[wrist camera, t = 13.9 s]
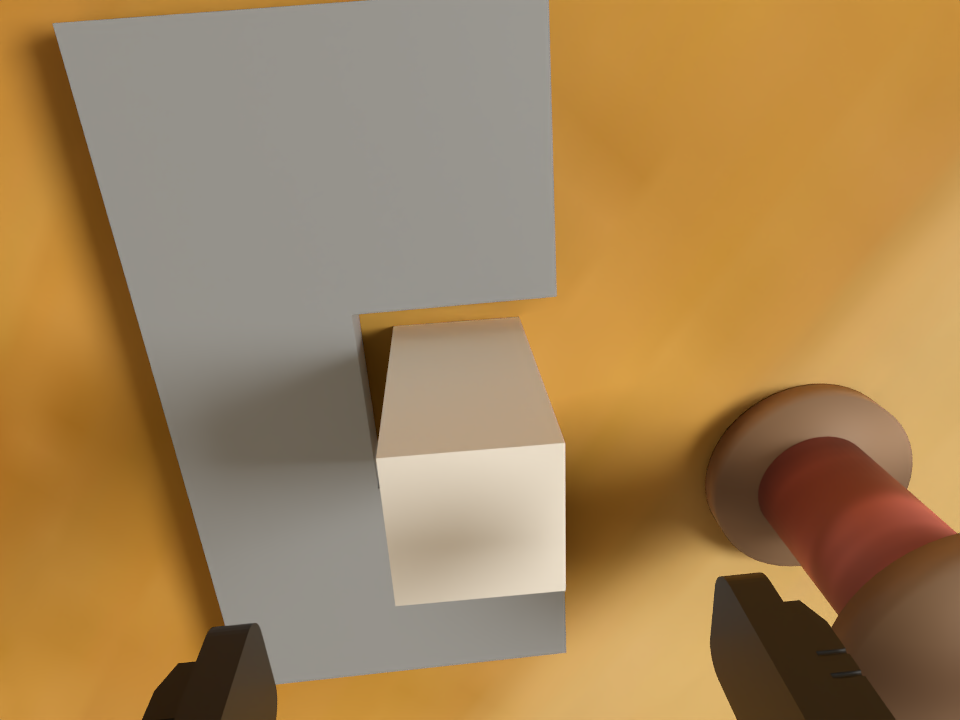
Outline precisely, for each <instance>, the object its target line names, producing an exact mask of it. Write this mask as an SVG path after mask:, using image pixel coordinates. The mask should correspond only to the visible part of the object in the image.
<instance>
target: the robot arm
mask: <svg viewBox="0 0 960 720" xmlns="http://www.w3.org/2000/svg"><path fill="white" fill-rule="evenodd" d="M710 649H711V656H712V661H713V665H714V669H715V672H716V675H717V677H718V680H719V682H720V684H721V686H722V688H723V690H724V693H725V695H726V697H727V699H728V701H729V703H730V706H731V708H732V710H733V712H734V714H735V716H736V719H737V720H896V719H895V718H894V716H893V715H892V713H891V712H890V710H889V709H888V708H887V706H886V705H885V703H884V702H883V701H882V699H881V698H880V696H879V695H878V693H877V692H876V691H875V689H874V688H873V686H872V685H871V683H870V682H869V681H868V679H867V678H866V676H863V675H862V673H861V669H860V668H859V666H858V665H857V664H856V662H855V661H854V659H853V658H852V656H851V655H850V654H847V652H846V648H845V646H844V645H843V644H842V642H841V641H840V639H839V638H838V637H837V635H836V634H835V632H834V631H833V629H832V628H831V627H830V625H829V624H828V622H827V621H825V620H824V619H823V618H822V617H820V616H819V615H818V614H816V613H815V612H814V611H813V610H811V609H810V608H809V607H807V606H806V605H805V604H803V603H802V602H801V601H800V600H797V601H787V602H783V600H782V599H781V597H780V596H779V594H778V593H777V591H776V590H775V588H774V586H773V585H772V583H771V582H770V580H769V579H768V578H767V576H766V575H765V574H763V573H750V574H740V575H731V576H721V577H718V578H717V580H716V584H715V593H714V603H713V614H712V625H711V636H710ZM276 715H277V690H276V684H275V680H274V677H273V673H272V669H271V665H270V662H269V658H268V654H267V651H266V647H265V643H264V639H263V636H262V632H261V629H260V627H259V625H258V624H257V623H248V624H239V625H229V626H219V627H212V628H211V629H210V630H209V631H208V633H207V635H206V637H205V640H204V642H203V645H202V648H201V650H200V653H199V655H198V658H197V661H196V662H187V663H178V664H177V666H176V667H175V668H174V669H173V670H172V671H171V672H170V674H169V675H168V676H167V677H166V678H165V679H164V681H163V682H162V683H161V684H160V685H159V686H158V687H157V689H156V690H155V691H154V693H153V695H152V698H151V700H150V702H149V705H148V707H147V709H146V712H145V714H144V716H143V718H142V720H276Z"/></svg>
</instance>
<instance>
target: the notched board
mask: <svg viewBox="0 0 960 720" xmlns="http://www.w3.org/2000/svg"><path fill="white" fill-rule="evenodd" d="M53 27H54V30H55V34H56V37H57V41H58V44H59V48H60V51H61V55H62V58H63V62H64V65H65V69H66V72H67V76H68V79H69V83H70V86H71V90H72V93H73V97H74V100H75V104H76V107H77V111H78V114H79V118H80V121H81V125H82V128H83V132H84V135H85V139H86V142H87V145H88V149H89V152H90V156H91V159H92V163H93V166H94V170H95V173H96V177H97V180H98V184H99V187H100V191H101V194H102V198H103V201H104V205H105V208H106V212H107V215H108V219H109V222H110V226H111V229H112V233H113V236H114V240H115V243H116V247H117V250H118V254H119V257H120V261H121V264H122V268H123V271H124V275H125V278H126V281H127V285H128V288H129V292H130V295H131V299H132V302H133V306H134V309H135V313H136V316H137V320H138V323H139V327H140V330H141V334H142V337H143V341H144V344H145V348H146V351H147V355H148V358H149V362H150V365H151V369H152V372H153V376H154V379H155V383H156V386H157V390H158V393H159V397H160V400H161V404H162V407H163V411H164V414H165V417H166V421H167V424H168V428H169V431H170V435H171V438H172V442H173V445H174V449H175V452H176V456H177V459H178V463H179V466H180V470H181V473H182V477H183V480H184V484H185V487H186V491H187V494H188V498H189V501H190V505H191V508H192V512H193V515H194V519H195V522H196V526H197V529H198V533H199V536H200V540H201V543H202V547H203V550H204V553H205V557H206V560H207V564H208V567H209V571H210V574H211V578H212V581H213V585H214V588H215V592H216V595H217V599H218V602H219V606H220V609H221V613H222V616H223V620H224V623H225V626H229V625H239V624H248V623H257V624H258V625H259V627H260V629H261V632H262V636H263V639H264V643H265V647H266V651H267V654H268V658H269V662H270V665H271V669H272V673H273V677H274V680H275V684H284V683H293V682H302V681H311V680H320V679H330V678H339V677H348V676H357V675H366V674H375V673H384V672H394V671H403V670H412V669H421V668H430V667H439V666H449V665H458V664H467V663H476V662H485V661H494V660H503V659H513V658H522V657H531V656H540V655H549V654H558V653H566V626H565V591H557V592H546V593H535V594H524V595H513V596H502V597H492V598H481V599H470V600H459V601H448V602H437V603H426V604H415V605H404V606H395V599H394V592H393V584H392V577H391V569H390V561H389V554H388V546H387V539H386V531H385V523H384V516H383V508H382V501H381V493H380V485H379V478H378V470H377V463H376V454H377V447H378V440H377V434H376V427H375V420H374V414H373V407H372V400H371V394H370V387H369V380H368V374H367V367H366V360H365V353H364V347H363V340H362V333H361V327H360V320H359V314H367V313H378V312H389V311H400V310H411V309H422V308H434V307H445V306H456V305H467V304H478V303H489V302H500V301H512V300H523V299H534V298H545V297H556V296H557V291H556V254H555V217H554V180H553V142H552V105H551V68H550V31H549V0H367V1H353V2H340V3H326V4H312V5H298V6H285V7H271V8H257V9H243V10H230V11H216V12H202V13H188V14H174V15H161V16H147V17H133V18H119V19H106V20H92V21H78V22H64V23H53Z"/></svg>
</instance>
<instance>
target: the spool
mask: <svg viewBox="0 0 960 720" xmlns="http://www.w3.org/2000/svg"><path fill="white" fill-rule="evenodd" d="M911 472H912V450H911V445H910V442H909V439H908V436H907V434H906V432H905V431H904V429H903V427H902V425H901V424H900V423H899V422H898V421H897V420H896V418H895V417H894V416H892V415H891V414H890V413H889V412H887V411H886V410H885V409H884V408H882V407H881V406H880V405H878V404H877V403H876V402H874V401H873V400H871V399H870V398H869V397H867V396H865V395H864V394H862V393H860V392H858V391H856V390H853V389H850V388H848V387H843V386H839V385H831V384H811V385H804V386H798V387H794V388H791V389H787V390H784V391H782V392H779V393H776V394H774V395H772V396H770V397H768V398H766V399H764V400H762V401H760V402H759V403H757V404H756V405H754V406H753V407H751V408H750V409H748V410H747V411H746V412H745V413H743V414H742V415H741V416H740V417H739V418H738V419H737V420H736V421H735V422H734V423H733V424H732V425H731V426H730V427H729V428H728V429H727V431H726V432H725V433H724V435H723V436H722V437H721V439H720V440H719V442H718V444H717V445H716V447H715V449H714V451H713V454H712V456H711V458H710V461H709V464H708V468H707V473H706V480H705V491H706V497H707V502H708V505H709V508H710V511H711V513H712V514H713V516H714V518H715V520H716V521H717V523H718V524H719V526H720V528H721V529H722V531H723V532H724V534H725V535H726V537H727V538H728V539H729V541H730V542H731V543H732V544H733V545H734V546H735V547H736V548H737V549H738V550H740V551H741V552H743V553H744V554H746V555H747V556H749V557H751V558H753V559H755V560H757V561H761V562H764V563H767V564H772V565H778V566H802V567H803V569H804V570H805V571H806V573H807V574H808V575H809V577H810V578H811V579H812V581H813V582H814V583H815V585H816V586H817V587H818V589H819V590H820V591H821V593H822V594H823V595H824V597H825V598H826V599H827V601H828V602H829V603H830V605H831V606H832V607H833V609H834V610H835V611H836V613H837V614H838V617H837V619H836V621H835V622H834V624H833V626H832V629H833V631H834V632H835V634H836V635H837V637H838V638H839V639H840V641H841V642H842V644H843V645H844V646H845V648H846V652H847V654H850V655H851V656H852V658H853V659H854V661H855V662H856V664H857V665H858V666H859V668H860V669H861V673H862V675H863V676H866V678H867V679H868V681H869V682H870V683H871V685H872V686H873V688H874V689H875V691H876V692H877V693H878V695H879V696H880V698H881V699H882V701H883V702H884V703H885V705H886V706H887V708H888V709H889V710H890V712H891V713H892V715H893V716H894V718H895V719H896V720H960V533H958V534H957V533H956V532H955V531H954V530H953V529H951V528H950V527H949V526H948V525H947V524H946V523H945V522H944V521H942V520H941V519H940V518H939V517H938V516H937V515H936V514H934V513H933V512H932V511H931V510H930V509H929V508H928V507H926V506H925V505H924V504H923V503H922V502H921V501H920V500H918V499H917V498H916V497H915V496H914V495H913V494H912V493H910V492H909V491H908V490H907V488H908V485H909V481H910V478H911Z"/></svg>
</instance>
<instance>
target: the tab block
mask: <svg viewBox="0 0 960 720" xmlns="http://www.w3.org/2000/svg"><path fill="white" fill-rule="evenodd" d="M376 463H377V470H378V478H379V485H380V493H381V501H382V508H383V516H384V523H385V531H386V539H387V546H388V554H389V561H390V569H391V577H392V584H393V592H394V599H395V606H404V605H415V604H426V603H437V602H448V601H459V600H470V599H481V598H492V597H502V596H513V595H524V594H535V593H546V592H557V591H566V518H565V441H564V438H563V436H562V433H561V430H560V427H559V425H558V422H557V419H556V416H555V414H554V411H553V408H552V406H551V403H550V400H549V397H548V395H547V392H546V389H545V386H544V384H543V381H542V378H541V376H540V373H539V370H538V367H537V365H536V362H535V359H534V356H533V354H532V351H531V348H530V345H529V343H528V340H527V337H526V335H525V332H524V329H523V326H522V324H521V321H520V318H519V317H510V318H497V319H483V320H470V321H456V322H443V323H429V324H416V325H402V326H394V327H393V334H392V342H391V349H390V357H389V364H388V372H387V379H386V387H385V394H384V402H383V409H382V417H381V424H380V432H379V439H378V447H377V454H376Z"/></svg>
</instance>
